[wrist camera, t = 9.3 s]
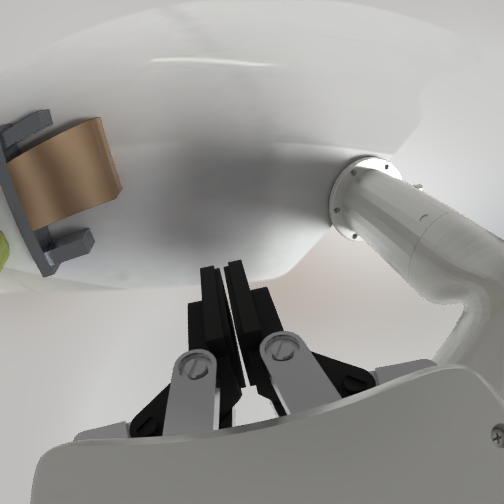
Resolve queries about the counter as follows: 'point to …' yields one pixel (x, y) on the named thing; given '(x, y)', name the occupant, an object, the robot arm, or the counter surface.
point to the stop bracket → (39, 241)
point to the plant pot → (3, 250)
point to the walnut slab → (65, 174)
